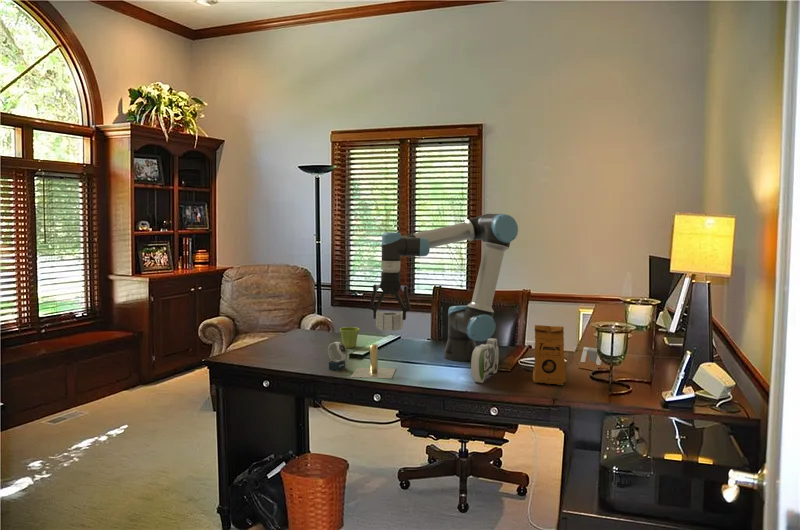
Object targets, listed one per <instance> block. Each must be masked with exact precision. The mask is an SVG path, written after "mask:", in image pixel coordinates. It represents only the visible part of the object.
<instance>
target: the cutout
mask: <svg viewBox="0 0 800 530" xmlns="http://www.w3.org/2000/svg"><path fill="white" fill-rule="evenodd" d="M470 363H471V364H470V367H471V368H470V371H471V376H472V380H473V382H474V383H480V384H483V383H484V381H485V377H486V376H488V375H489V374H491V375H494V374H496V373H498V368H499V367H498V366H499V346H498V339H497V338H492V337H490V338H489V339H487V340H486V343H481V344H480V345H476V347H475V349H474V350H473V353H472V358H471V360H470Z"/></svg>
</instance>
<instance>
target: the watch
mask: <svg viewBox="0 0 800 530" xmlns="http://www.w3.org/2000/svg"><path fill="white" fill-rule="evenodd" d="M333 345H335V347H336V350H337V352H338V354H339V355H340V356H341V359H338V358H337V359H336V357H335V355H334V353H333V350H332V346H333ZM347 353H348V348H346V346H345V345H344V344H343V342H340V341H335V342H331V343H329V345H328V347H327V354H328V356H329V358H330V360H331V361H329V362H328V370H329V371H334V372H335V371H336V372H339V371H341V370H344V369H345V368H346V360H345V358H346V356H347Z"/></svg>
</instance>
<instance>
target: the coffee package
mask: <svg viewBox="0 0 800 530" xmlns="http://www.w3.org/2000/svg"><path fill="white" fill-rule="evenodd" d="M564 332H565V331H564V326H559V325H556V326H555V325H554V326H553V325H537V324H535V325H534V344H535V345H534V352H533V353H534V355H533V357H534V366H533V371H532V372H533V373H532V380H533V382H534V383H538V384H542V383H545V384H544V385H550V384H557V385H556V386H561V384H563V383H564V382H565V383H566V378H567V364H566V360H565V351H564V350H565V341H564V340H565V338H564V335H565V333H564ZM565 383H564V384H565ZM564 384H563V385H564Z"/></svg>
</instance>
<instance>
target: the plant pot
mask: <svg viewBox="0 0 800 530" xmlns="http://www.w3.org/2000/svg"><path fill="white" fill-rule="evenodd" d="M339 331H340V336H341V340H342V342H341V343H343V344H344V345H345V346H346V349H353V348H356V347H357V341H358V334H359V331H360V328H359V327H356V326H355V327H354V326H353V327H352V326H347V327H345V326H344V327H340V328H339Z"/></svg>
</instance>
